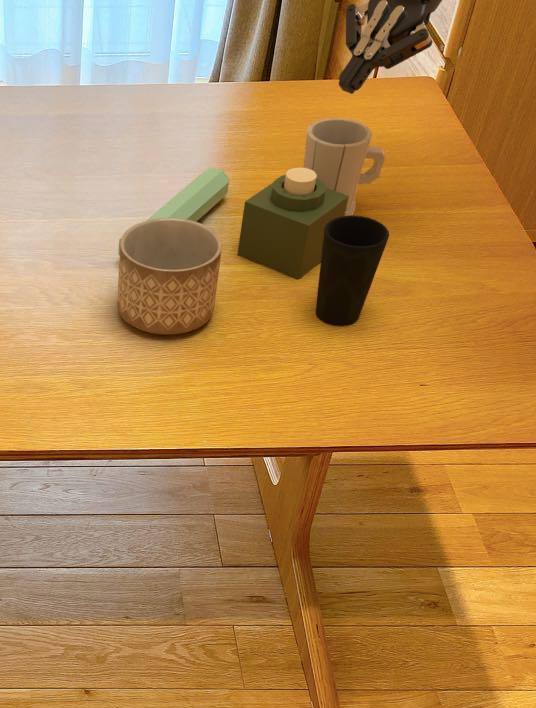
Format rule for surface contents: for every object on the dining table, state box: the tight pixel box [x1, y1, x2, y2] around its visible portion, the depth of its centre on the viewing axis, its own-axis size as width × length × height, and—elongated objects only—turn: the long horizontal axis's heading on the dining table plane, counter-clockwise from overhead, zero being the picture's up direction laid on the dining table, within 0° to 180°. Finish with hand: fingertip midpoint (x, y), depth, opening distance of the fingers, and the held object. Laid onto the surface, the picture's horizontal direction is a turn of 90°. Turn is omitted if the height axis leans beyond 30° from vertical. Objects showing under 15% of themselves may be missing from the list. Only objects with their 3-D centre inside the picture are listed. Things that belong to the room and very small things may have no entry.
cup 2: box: [314, 215, 390, 327], centre depth 129 cm, size 8×8×12 cm
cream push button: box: [284, 167, 317, 195], centre depth 136 cm, size 4×4×2 cm
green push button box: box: [237, 173, 349, 280], centre depth 140 cm, size 10×10×10 cm
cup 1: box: [302, 117, 386, 216], centre depth 147 cm, size 10×9×12 cm
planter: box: [116, 218, 223, 335], centre depth 131 cm, size 13×13×10 cm
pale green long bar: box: [118, 167, 230, 257], centre depth 148 cm, size 6×6×25 cm
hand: (345, 89), depth 130 cm, fingers closed
